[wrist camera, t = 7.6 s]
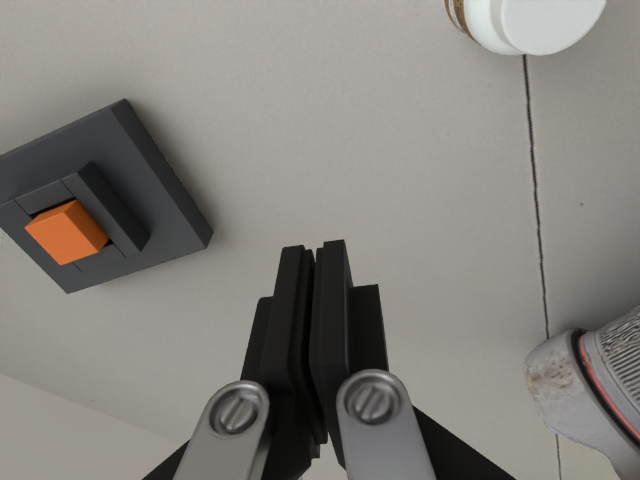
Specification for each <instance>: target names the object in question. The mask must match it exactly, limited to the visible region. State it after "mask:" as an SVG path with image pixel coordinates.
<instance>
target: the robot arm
mask: <svg viewBox="0 0 640 480" xmlns="http://www.w3.org/2000/svg"><path fill="white" fill-rule="evenodd" d="M328 432H329V435H330V438H331V441H332V444H333V447H334V450H335V453H336V456H337V459H338V463H339V464H340V465H341V466H342V467H343V468H344V469H345V470H346V471H347V477H348V480H516V479H515V478H514V477H512V476H511V475H509V474H508V473H507V472H505V471H504V470H502V469H501V468H500V467H498V466H497V465H495V464H494V463H493V462H491V461H490V460H489V459H487V458H486V457H484V456H483V455H482V454H480V453H479V452H477V451H476V450H475V449H473V448H472V447H470V446H469V445H468V444H466V443H465V442H463V441H462V440H461V439H459V438H458V437H456V436H455V435H454V434H452V433H451V432H449V431H448V430H447V429H445V428H444V427H442V426H441V425H440V424H438V423H437V422H435V421H434V420H433V419H431V418H430V417H428V416H427V415H426V414H424V413H423V412H421V411H420V410H419V409H417V408H416V407H415V406H413V405H412V404H411V401H410V398H409V395H408V392H407V390H406V388H405V386H404V384H403V383H402V382H401V381H400V380H399V379H398V378H397V377H396V376H395V375H393V374H391V373H389V365H388V357H387V348H386V340H385V332H384V324H383V316H382V309H381V302H380V295H379V288H378V284H375V285H366V286H357V287H353V282H352V277H351V271H350V266H349V261H348V256H347V250H346V245H345V241H344V239H343V240H335V241H328V242H324V245H323V248H317V250H316V263H315V259H314V255H313V252H312V250H311V249H308V250H305V247H304V245H298V246H290V247H284V248H283V249H282V253H281V258H280V263H279V269H278V274H277V279H276V284H275V290H274V295H273V296H271V297H263V298H260V299H259V301H258V304H257V309H256V313H255V317H254V322H253V326H252V330H251V335H250V339H249V343H248V348H247V352H246V356H245V361H244V365H243V369H242V374H241V378H240V381H235V382H233V383H230V384H227V385H226V386H224V387H222V388H221V389H219V390H218V391H217V392H216V393H215V394H214V395H213V396H212V397H211V398H210V399H209V401H208V403H207V404H206V406H205V408H204V410H203V412H202V414H201V417H200V419H199V421H198V424H197V426H196V428H195V430H194V433H193V435H192V437H191V439H190V440H188V441H187V442H186V443H185V444H184V445H182V446H181V447H180V448H179V449H178V450H176V451H175V452H174V453H173V454H172V455H171V456H170V457H168V458H167V459H166V460H165V461H163V462H162V463H161V464H160V465H159V466H157V467H156V468H155V469H154V470H153V471H151V472H150V473H149V474H148V475H147V476H146V477H144V478H143V479H142V480H302V475H303V474H304V472H305V471H306V470H307V469H308V468H309V467H310V466H311V460H312V459H313V458H320V444H327V441H328Z"/></svg>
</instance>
